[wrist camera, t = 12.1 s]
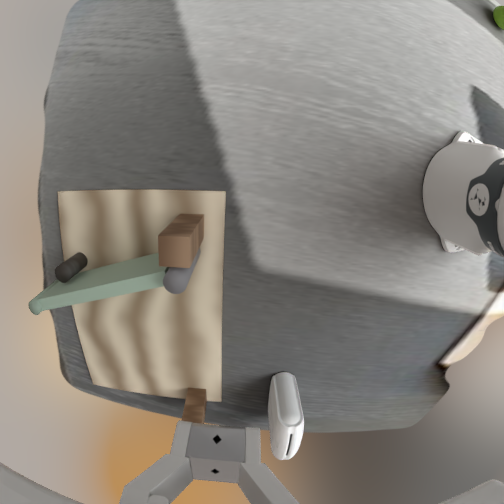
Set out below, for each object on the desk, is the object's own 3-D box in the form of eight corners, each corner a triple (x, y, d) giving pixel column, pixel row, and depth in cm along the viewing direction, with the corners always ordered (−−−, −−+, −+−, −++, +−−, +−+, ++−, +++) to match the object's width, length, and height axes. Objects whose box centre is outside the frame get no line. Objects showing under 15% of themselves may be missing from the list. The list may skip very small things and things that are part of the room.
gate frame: (225, 191, 36) (218, 206, 26) (221, 399, 47) (218, 448, 37) (59, 191, 35) (11, 205, 25) (94, 382, 46) (72, 423, 36)
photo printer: (289, 411, 49) (298, 465, 37) (266, 411, 48) (270, 466, 37) (297, 370, 45) (309, 428, 34) (270, 371, 45) (277, 429, 34)
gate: (197, 239, 37) (182, 268, 28) (202, 257, 38) (190, 291, 28) (57, 275, 38) (20, 304, 29) (62, 290, 39) (28, 321, 30)
